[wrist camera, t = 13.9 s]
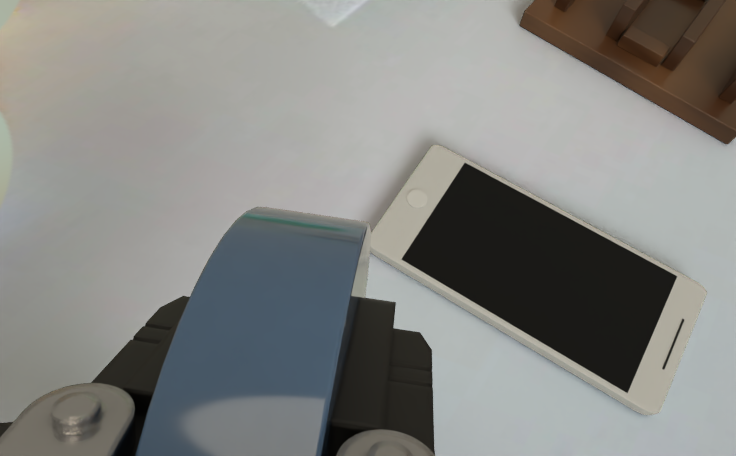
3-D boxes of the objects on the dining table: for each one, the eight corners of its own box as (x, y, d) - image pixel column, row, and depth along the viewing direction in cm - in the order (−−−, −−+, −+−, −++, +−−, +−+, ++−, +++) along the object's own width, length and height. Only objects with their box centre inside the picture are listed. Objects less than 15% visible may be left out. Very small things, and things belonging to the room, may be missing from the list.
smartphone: (432, 149, 31) (434, 140, 30) (699, 293, 28) (710, 287, 27) (363, 249, 29) (363, 242, 28) (648, 420, 25) (659, 418, 24)
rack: (792, 40, 35) (837, -5, 32) (727, 145, 32) (769, 106, 28) (596, -60, 38) (618, -110, 35) (518, 25, 35) (535, -21, 32)
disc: (367, 300, 15) (378, 123, 8) (309, 672, 12) (225, 1013, 4) (296, 289, 16) (238, 104, 8) (218, 655, 12) (-21, 960, 4)
